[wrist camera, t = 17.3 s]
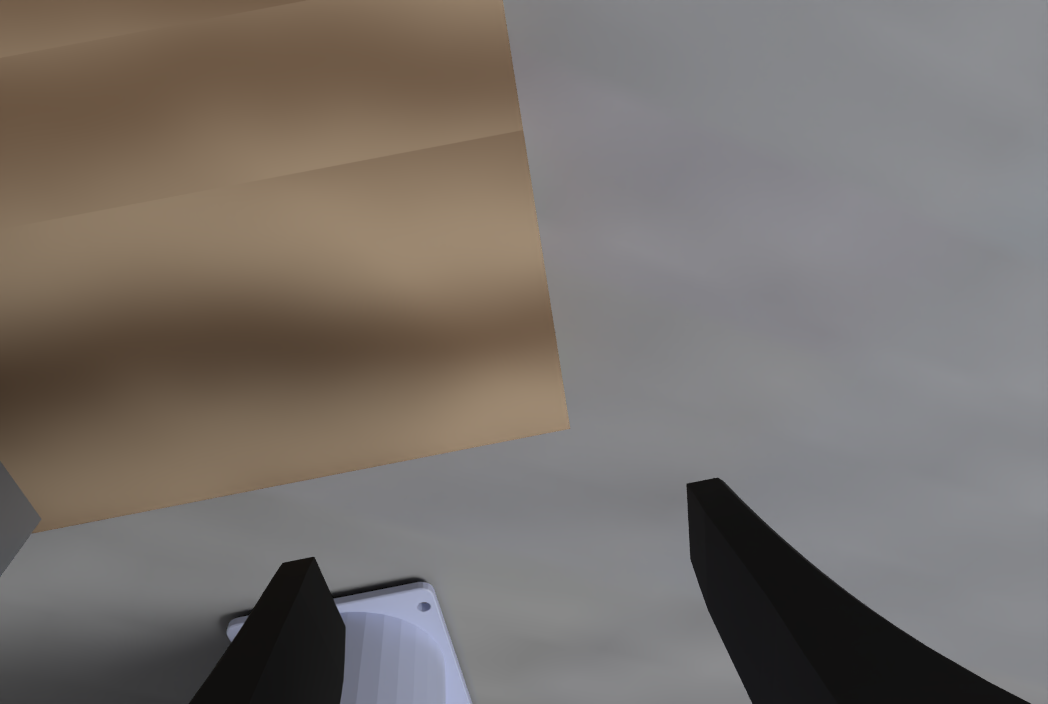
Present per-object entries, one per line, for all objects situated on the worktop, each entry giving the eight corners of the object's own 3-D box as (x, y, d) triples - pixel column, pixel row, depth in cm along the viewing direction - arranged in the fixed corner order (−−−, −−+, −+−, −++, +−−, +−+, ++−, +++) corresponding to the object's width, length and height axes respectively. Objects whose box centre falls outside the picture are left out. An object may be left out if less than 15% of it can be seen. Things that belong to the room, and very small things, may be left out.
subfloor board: (560, 398, 23) (572, 444, 21) (-212, 548, 23) (-280, 610, 20) (469, -158, 15) (474, -179, 13) (-700, 59, 15) (-894, 75, 13)
